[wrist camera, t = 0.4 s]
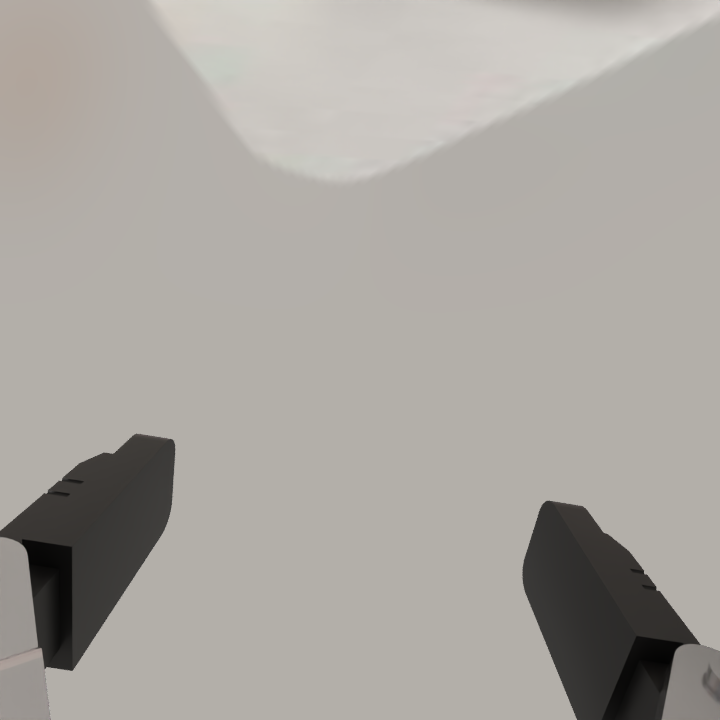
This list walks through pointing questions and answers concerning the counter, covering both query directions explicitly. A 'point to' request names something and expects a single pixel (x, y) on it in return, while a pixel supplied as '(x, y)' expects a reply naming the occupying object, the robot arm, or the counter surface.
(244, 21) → the counter surface
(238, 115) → the counter surface
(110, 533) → the robot arm
